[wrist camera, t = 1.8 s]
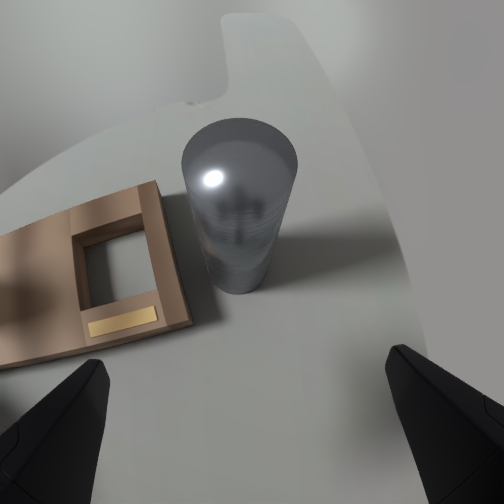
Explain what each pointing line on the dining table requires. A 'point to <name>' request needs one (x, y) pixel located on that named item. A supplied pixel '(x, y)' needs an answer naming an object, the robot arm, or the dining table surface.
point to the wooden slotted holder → (84, 281)
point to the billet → (238, 197)
